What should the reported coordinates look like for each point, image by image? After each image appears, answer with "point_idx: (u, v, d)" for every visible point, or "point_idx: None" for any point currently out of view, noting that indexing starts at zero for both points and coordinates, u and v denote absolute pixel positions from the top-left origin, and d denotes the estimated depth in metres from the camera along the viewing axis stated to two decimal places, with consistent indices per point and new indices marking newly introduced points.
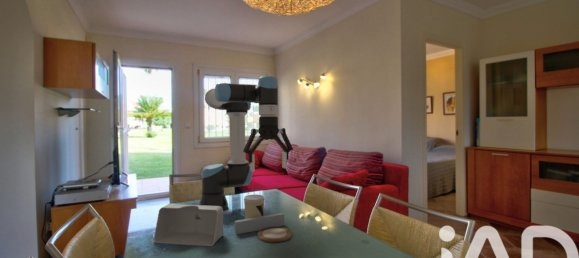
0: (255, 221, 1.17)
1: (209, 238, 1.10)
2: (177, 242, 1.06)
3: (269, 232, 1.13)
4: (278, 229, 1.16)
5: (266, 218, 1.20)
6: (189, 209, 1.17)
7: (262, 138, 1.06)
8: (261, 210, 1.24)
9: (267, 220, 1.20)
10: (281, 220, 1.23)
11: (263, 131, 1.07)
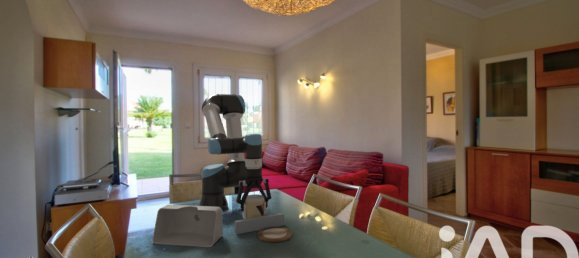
0: (255, 221, 1.17)
1: (208, 239, 1.09)
2: (176, 243, 1.06)
3: (269, 232, 1.13)
4: (278, 229, 1.16)
5: (266, 218, 1.20)
6: (188, 210, 1.16)
7: (249, 188, 1.24)
8: (261, 210, 1.24)
9: (267, 220, 1.20)
10: (281, 220, 1.23)
11: (249, 181, 1.24)
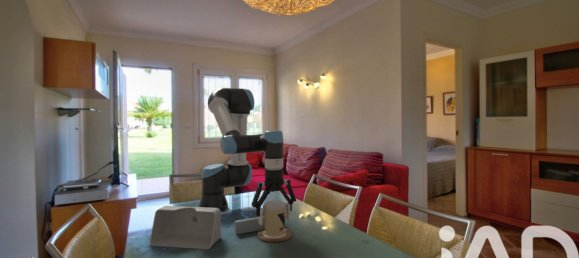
0: (255, 221, 1.17)
1: (206, 241, 1.07)
2: (173, 245, 1.04)
3: None
4: None
5: None
6: (186, 211, 1.14)
7: (268, 191, 1.09)
8: (283, 219, 1.10)
9: None
10: None
11: (269, 184, 1.10)
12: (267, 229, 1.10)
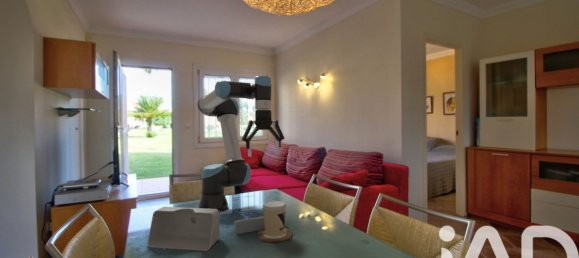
0: (255, 221, 1.17)
1: (205, 242, 1.06)
2: (171, 246, 1.03)
3: None
4: None
5: None
6: (184, 212, 1.13)
7: (258, 128, 1.25)
8: (283, 219, 1.10)
9: None
10: None
11: (259, 122, 1.26)
12: (267, 229, 1.10)
